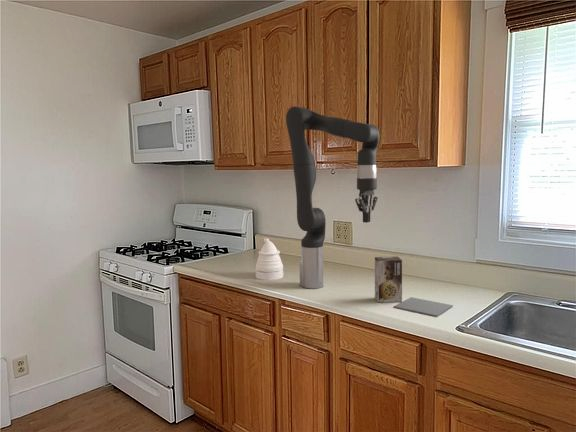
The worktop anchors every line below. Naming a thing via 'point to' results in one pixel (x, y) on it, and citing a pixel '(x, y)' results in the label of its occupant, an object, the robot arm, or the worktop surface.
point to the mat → (423, 306)
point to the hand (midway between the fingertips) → (366, 222)
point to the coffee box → (388, 279)
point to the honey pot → (269, 262)
